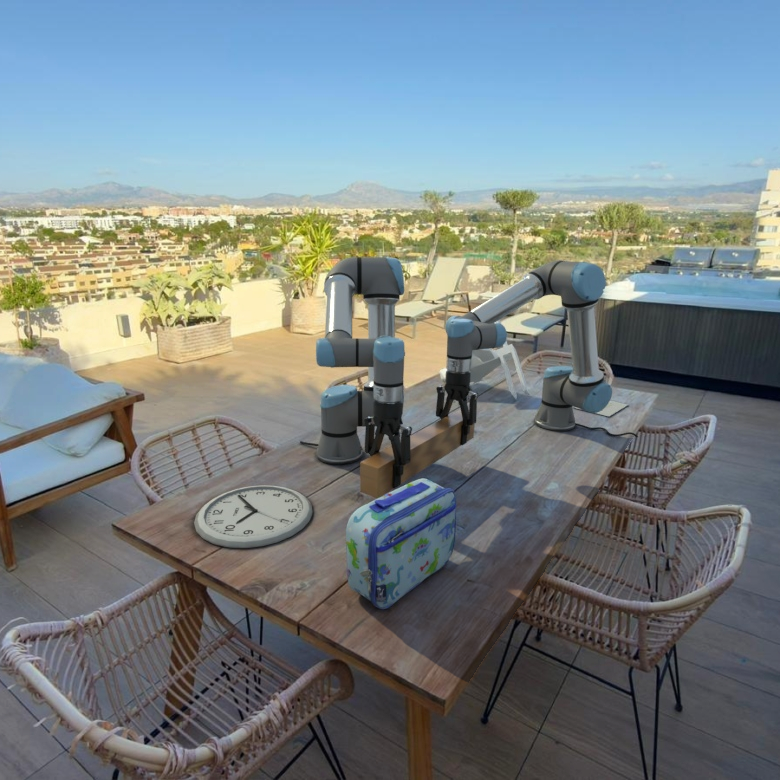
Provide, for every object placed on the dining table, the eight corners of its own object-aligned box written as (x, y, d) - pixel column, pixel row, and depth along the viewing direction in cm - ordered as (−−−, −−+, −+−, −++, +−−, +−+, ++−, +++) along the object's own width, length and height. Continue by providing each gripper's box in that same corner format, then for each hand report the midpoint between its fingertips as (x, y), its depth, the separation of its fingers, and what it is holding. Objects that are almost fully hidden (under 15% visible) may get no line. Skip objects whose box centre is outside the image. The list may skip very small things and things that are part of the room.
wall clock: (308, 539, 124) (178, 544, 121) (308, 545, 124) (179, 550, 122) (315, 481, 152) (209, 483, 150) (315, 486, 153) (210, 488, 150)
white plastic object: (461, 429, 252) (437, 405, 227) (444, 352, 274) (420, 323, 250) (535, 404, 240) (518, 377, 215) (510, 326, 262) (492, 293, 237)
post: (458, 433, 173) (459, 409, 170) (473, 437, 169) (475, 413, 167) (360, 491, 134) (360, 462, 132) (377, 498, 131) (377, 468, 129)
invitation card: (608, 416, 214) (573, 407, 224) (608, 416, 214) (573, 408, 224) (628, 404, 229) (594, 396, 238) (628, 405, 229) (594, 397, 238)
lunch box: (375, 622, 100) (376, 527, 94) (339, 595, 108) (338, 505, 101) (459, 565, 118) (465, 481, 112) (424, 545, 125) (427, 465, 119)
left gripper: (349, 395, 134) (350, 477, 141) (410, 411, 123) (407, 499, 130) (368, 389, 139) (367, 467, 146) (427, 403, 129) (424, 487, 136)
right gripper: (425, 367, 161) (423, 437, 168) (480, 378, 150) (475, 452, 157) (438, 363, 166) (435, 430, 173) (492, 373, 156) (486, 444, 163)
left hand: (386, 482), depth 138 cm, fingers closed on post, 6 cm apart
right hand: (454, 441), depth 165 cm, fingers closed on post, 6 cm apart
